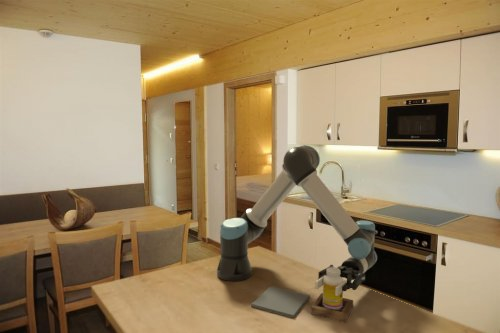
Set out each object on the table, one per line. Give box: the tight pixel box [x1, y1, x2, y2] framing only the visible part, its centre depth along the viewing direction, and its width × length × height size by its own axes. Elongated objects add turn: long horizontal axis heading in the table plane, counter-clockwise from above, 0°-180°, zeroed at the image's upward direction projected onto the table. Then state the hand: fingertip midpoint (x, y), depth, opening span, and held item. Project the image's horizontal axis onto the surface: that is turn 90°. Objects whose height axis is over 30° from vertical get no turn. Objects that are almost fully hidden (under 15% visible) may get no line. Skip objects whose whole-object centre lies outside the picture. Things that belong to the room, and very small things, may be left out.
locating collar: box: [310, 292, 354, 324], centre depth 122 cm, size 12×12×2 cm
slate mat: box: [250, 285, 311, 319], centre depth 128 cm, size 16×16×1 cm
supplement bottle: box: [322, 266, 344, 311], centre depth 121 cm, size 7×7×13 cm
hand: (326, 288), depth 117 cm, fingers closed on supplement bottle, 7 cm apart
